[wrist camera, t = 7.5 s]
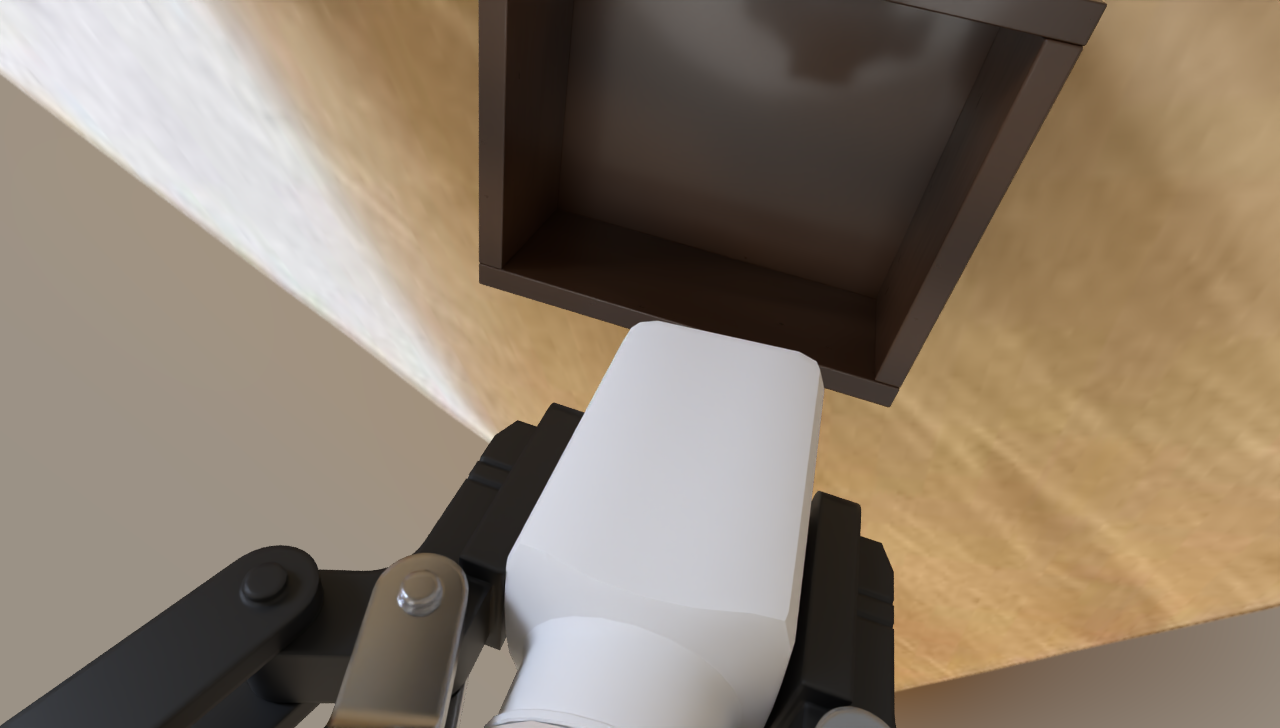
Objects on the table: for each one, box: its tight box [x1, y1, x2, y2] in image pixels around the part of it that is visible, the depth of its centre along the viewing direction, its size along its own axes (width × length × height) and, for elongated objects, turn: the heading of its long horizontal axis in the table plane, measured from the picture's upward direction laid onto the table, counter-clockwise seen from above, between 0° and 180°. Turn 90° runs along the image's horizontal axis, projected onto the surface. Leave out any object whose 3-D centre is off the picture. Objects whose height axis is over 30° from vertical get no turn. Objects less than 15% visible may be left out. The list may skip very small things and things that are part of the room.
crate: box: [479, 0, 1107, 407], centre depth 25 cm, size 14×17×6 cm
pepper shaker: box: [484, 321, 824, 728], centre depth 11 cm, size 4×4×10 cm
